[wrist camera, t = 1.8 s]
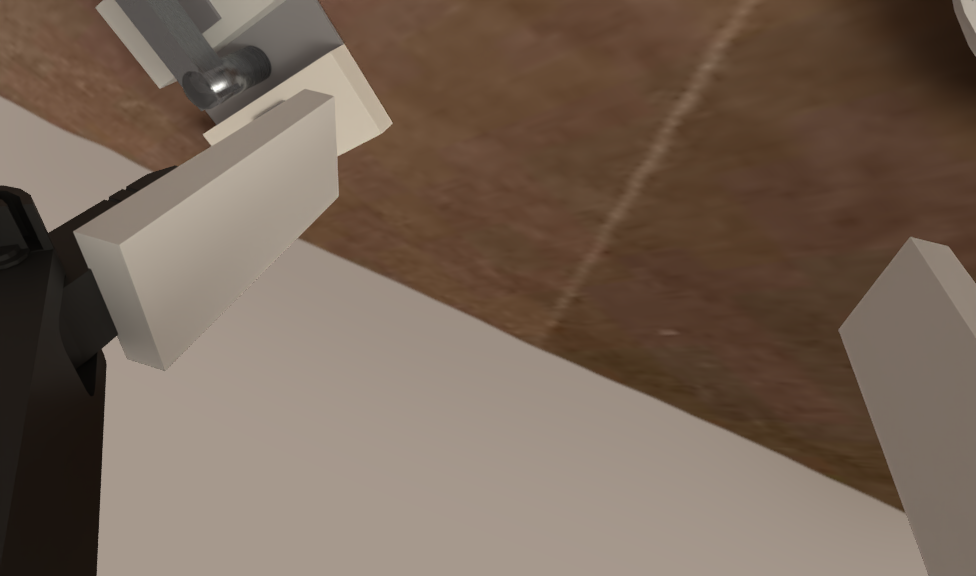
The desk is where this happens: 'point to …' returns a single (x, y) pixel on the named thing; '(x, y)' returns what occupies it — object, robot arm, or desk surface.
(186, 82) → the lever
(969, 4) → the decorative object
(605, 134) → the desk surface
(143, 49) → the door mockup
